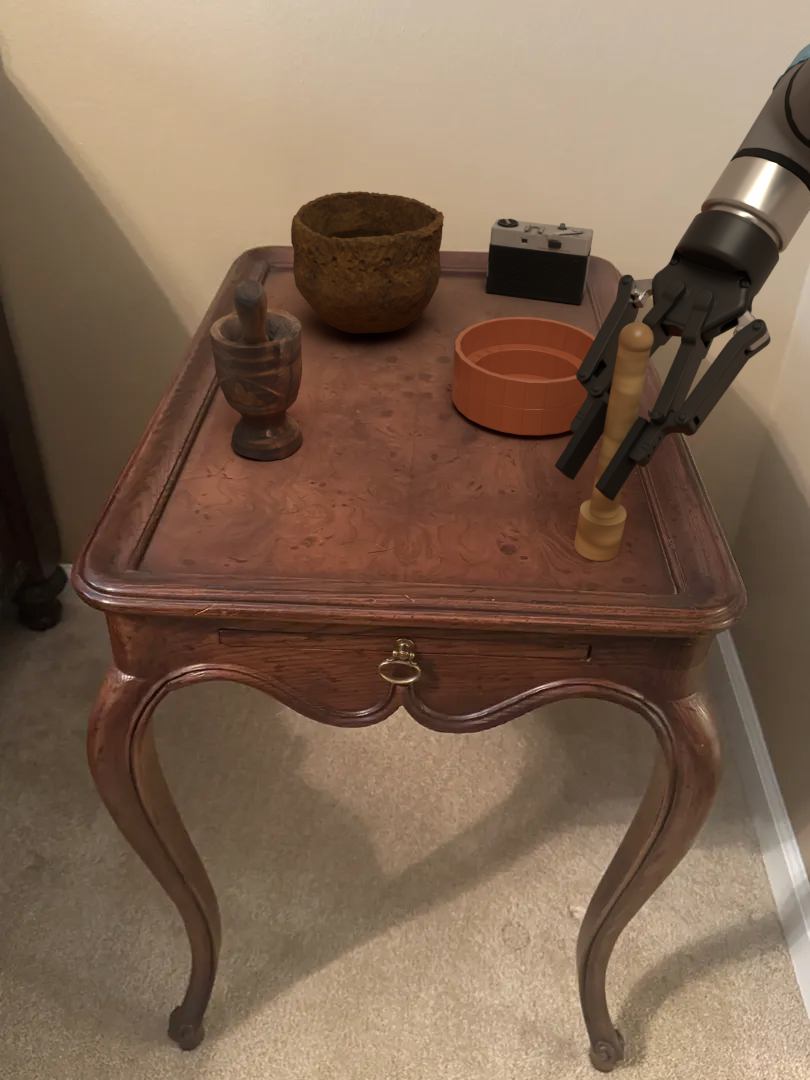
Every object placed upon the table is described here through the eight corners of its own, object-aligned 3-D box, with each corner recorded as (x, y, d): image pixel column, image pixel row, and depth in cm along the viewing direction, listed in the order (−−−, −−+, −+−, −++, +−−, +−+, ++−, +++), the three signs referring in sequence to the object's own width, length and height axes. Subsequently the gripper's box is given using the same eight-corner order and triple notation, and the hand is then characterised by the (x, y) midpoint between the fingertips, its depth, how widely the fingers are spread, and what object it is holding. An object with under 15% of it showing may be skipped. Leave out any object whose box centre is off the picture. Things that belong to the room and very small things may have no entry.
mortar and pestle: (332, 468, 89) (325, 274, 76) (251, 490, 85) (229, 290, 73) (289, 417, 97) (276, 233, 85) (213, 434, 93) (188, 246, 81)
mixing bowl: (603, 383, 104) (613, 327, 100) (586, 452, 92) (596, 392, 88) (469, 363, 108) (473, 309, 104) (435, 427, 95) (438, 368, 91)
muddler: (621, 538, 80) (667, 316, 67) (616, 565, 77) (664, 337, 64) (577, 530, 81) (614, 309, 68) (571, 556, 78) (609, 330, 65)
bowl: (453, 355, 109) (460, 234, 100) (301, 363, 107) (294, 240, 98) (427, 297, 124) (431, 186, 115) (292, 303, 122) (285, 190, 113)
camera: (594, 286, 128) (604, 217, 121) (577, 312, 121) (586, 240, 115) (504, 271, 132) (508, 203, 126) (482, 294, 126) (486, 224, 120)
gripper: (842, 287, 69) (682, 541, 70) (663, 234, 79) (524, 459, 80) (833, 234, 63) (657, 513, 64) (640, 183, 72) (489, 427, 73)
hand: (583, 482), depth 72 cm, fingers open, 3 cm apart
